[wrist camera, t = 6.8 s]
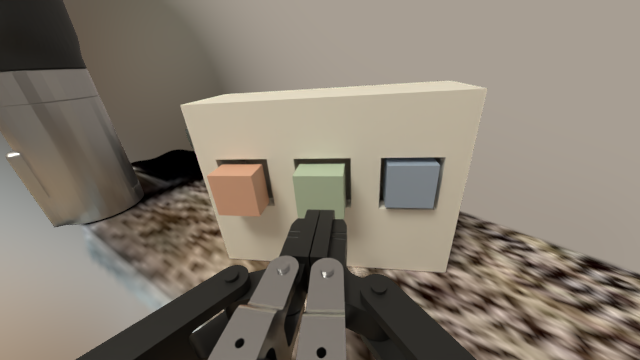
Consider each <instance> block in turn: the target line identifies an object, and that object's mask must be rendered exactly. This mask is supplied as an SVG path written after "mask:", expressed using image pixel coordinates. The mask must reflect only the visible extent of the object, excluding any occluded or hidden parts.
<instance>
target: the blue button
mask: <svg viewBox="0 0 640 360" xmlns="http://www.w3.org/2000/svg"><path fill="white" fill-rule="evenodd" d="M439 170H440V165H439V163H438V162H437V161H436V159H435V158H434V157H416V158H385V160H384V178H383V198H384V204H385V207H392V208H433V206H434V200H435V194H436V188H437V182H438V176H439Z"/></svg>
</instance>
